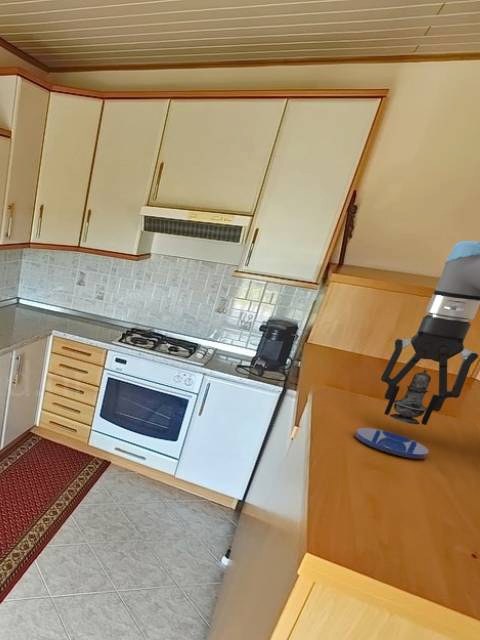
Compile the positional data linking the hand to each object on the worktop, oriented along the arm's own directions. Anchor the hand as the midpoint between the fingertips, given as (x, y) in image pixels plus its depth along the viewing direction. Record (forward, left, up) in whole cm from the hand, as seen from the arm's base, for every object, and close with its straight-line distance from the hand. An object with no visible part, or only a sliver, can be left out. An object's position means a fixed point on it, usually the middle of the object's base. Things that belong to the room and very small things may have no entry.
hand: (404, 418), depth 110 cm
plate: (-8, +10, -4) cm, 13 cm away
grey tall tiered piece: (0, 0, -1) cm, 1 cm away
